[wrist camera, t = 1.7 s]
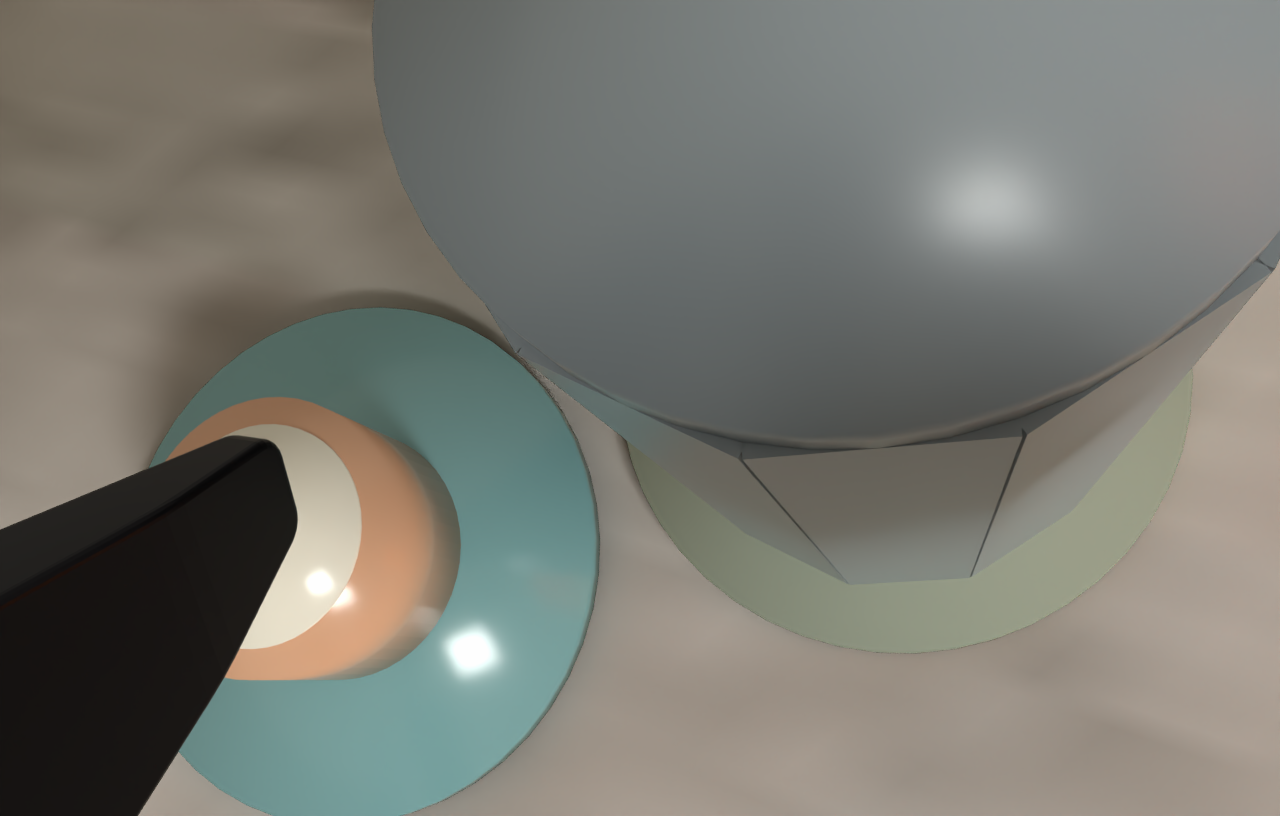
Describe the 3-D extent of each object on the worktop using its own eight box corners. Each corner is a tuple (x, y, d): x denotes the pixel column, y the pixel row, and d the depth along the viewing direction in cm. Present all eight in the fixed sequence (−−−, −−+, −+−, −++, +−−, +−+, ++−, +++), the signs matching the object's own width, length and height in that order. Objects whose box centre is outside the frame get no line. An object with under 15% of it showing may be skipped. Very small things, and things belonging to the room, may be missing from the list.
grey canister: (833, 667, 19) (682, 650, 8) (608, 326, 22) (232, -86, 10) (1214, 417, 19) (1686, -19, 7) (940, 95, 21) (950, -626, 10)
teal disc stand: (259, 926, 21) (133, 973, 18) (70, 490, 25) (-67, 461, 21) (699, 633, 21) (654, 624, 17) (445, 223, 24) (364, 147, 20)
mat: (817, 766, 20) (814, 768, 19) (534, 320, 23) (527, 314, 22) (1320, 440, 19) (1328, 434, 18) (955, 25, 22) (955, 13, 22)
